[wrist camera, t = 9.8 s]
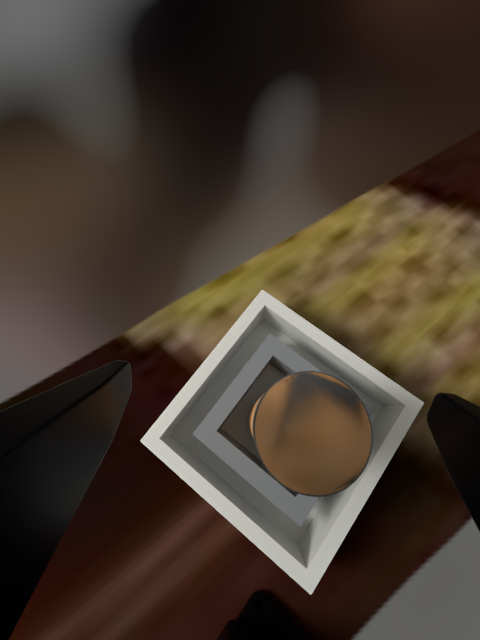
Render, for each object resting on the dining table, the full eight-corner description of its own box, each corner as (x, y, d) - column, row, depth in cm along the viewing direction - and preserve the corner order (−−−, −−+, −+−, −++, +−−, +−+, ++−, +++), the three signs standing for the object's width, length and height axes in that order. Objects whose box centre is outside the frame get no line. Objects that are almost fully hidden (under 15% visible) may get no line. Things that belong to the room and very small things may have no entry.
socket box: (393, 404, 22) (426, 402, 18) (298, 559, 19) (311, 597, 15) (259, 308, 24) (262, 288, 20) (158, 435, 22) (138, 441, 18)
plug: (319, 415, 21) (394, 419, 11) (284, 467, 20) (330, 526, 10) (271, 379, 22) (297, 348, 11) (236, 426, 21) (229, 441, 10)
